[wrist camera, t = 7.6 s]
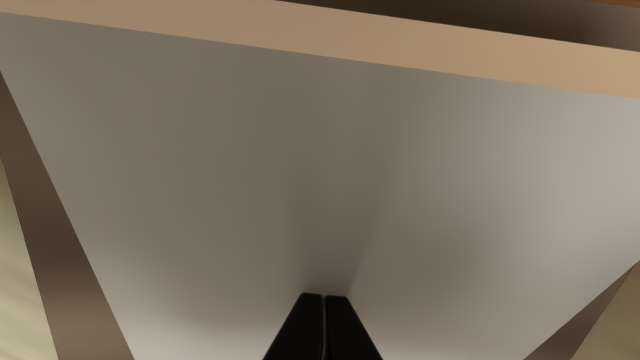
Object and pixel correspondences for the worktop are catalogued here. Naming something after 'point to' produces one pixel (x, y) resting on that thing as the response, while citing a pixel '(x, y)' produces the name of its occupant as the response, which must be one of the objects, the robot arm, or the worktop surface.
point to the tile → (329, 170)
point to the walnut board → (408, 3)
